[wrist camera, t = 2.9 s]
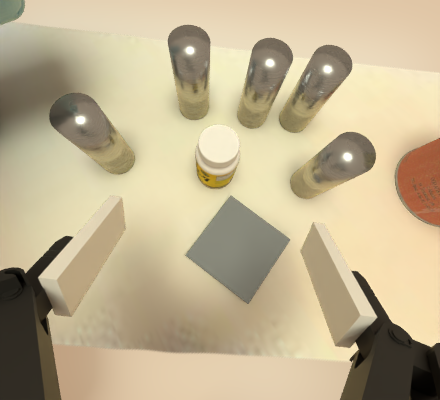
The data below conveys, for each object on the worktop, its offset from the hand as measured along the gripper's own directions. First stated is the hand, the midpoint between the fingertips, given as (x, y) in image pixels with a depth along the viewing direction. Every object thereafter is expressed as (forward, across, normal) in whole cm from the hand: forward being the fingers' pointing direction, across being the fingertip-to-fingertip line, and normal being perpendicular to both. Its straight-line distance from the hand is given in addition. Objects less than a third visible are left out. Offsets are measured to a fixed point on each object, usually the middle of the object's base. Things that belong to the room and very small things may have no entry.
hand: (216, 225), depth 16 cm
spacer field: (+16, +1, -1) cm, 17 cm away
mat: (+8, +3, -9) cm, 13 cm away
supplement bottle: (+14, -1, -3) cm, 15 cm away
